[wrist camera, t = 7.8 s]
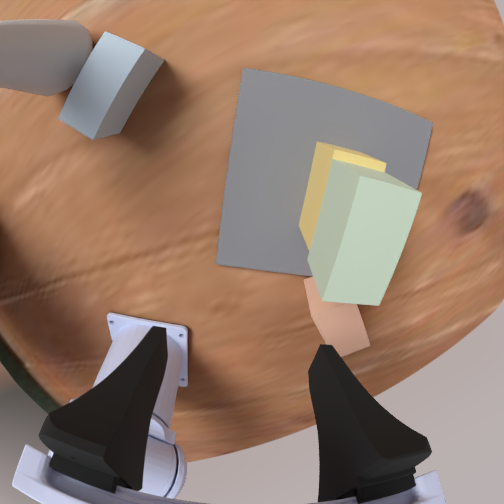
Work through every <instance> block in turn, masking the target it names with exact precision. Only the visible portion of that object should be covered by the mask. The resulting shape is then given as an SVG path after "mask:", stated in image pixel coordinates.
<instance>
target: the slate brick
mask: <svg viewBox="0 0 504 504" xmlns="http://www.w3.org/2000/svg"><path fill="white" fill-rule="evenodd" d="M164 61H165V60H164V59H162V58H161V57H159V56H157V55H155V54H154V53H152V52H150V51H148V50H146V49H144V48H142V47H140V46H138V45H136V44H134V43H131V42H129V41H127V40H125V39H122V38H120V37H118V36H115V35H113V34H111V33H108V32H106V31H105V32H104V34H103V35H102V37H101V38H100V40H99V41H98V43H97V44H96V46H95V48H94V49H93V51H92V52H91V54H90V56H89V58H88V59H87V61H86V63H85V65H84V66H83V68H82V70H81V72H80V74H79V76H78V77H77V79H76V81H75V83H74V85H73V87H72V89H71V91H70V93H69V95H68V97H67V100H66V102H65V104H64V106H63V108H62V111H61V113H60V115H59V118H58V119H59V120H61V121H63V122H64V123H66V124H68V125H69V126H71V127H73V128H74V129H76V130H77V131H79V132H81V133H82V134H84V135H86V136H87V137H89V138H90V139H92V140H95V139H99V138H103V137H107V136H111V135H115V134H120V132H121V130H122V129H123V127H124V125H125V123H126V121H127V119H128V118H129V116H130V114H131V112H132V111H133V109H134V107H135V105H136V104H137V102H138V100H139V99H140V97H141V95H142V94H143V92H144V91H145V89H146V87H147V86H148V84H149V83H150V81H151V80H152V78H153V77H154V75H155V74H156V72H157V71H158V69H159V68H160V66H161V65H162V63H163V62H164Z"/></svg>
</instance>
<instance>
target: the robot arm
mask: <svg viewBox="0 0 504 504" xmlns="http://www.w3.org/2000/svg"><path fill="white" fill-rule="evenodd" d="M107 321H108V325H109V330H110V334H111V338H112V344H111V347H110V349H109V351H108V353H107V355H106V357H105V360H104V362H103V364H102V366H101V369H100V371H99V373H98V375H97V378H96V380H95V382H94V385H93V387H92V389H91V390H89V391H88V392H86V393H85V394H83V395H82V396H79V397H78V398H73V399H71V400H70V402H69V403H68V404H66V405H64V406H62V407H60V408H58V409H56V410H54V411H52V412H50V413H49V414H48V416H47V418H46V419H45V421H44V423H43V426H42V428H41V431H40V433H39V438H40V440H41V441H42V442H43V443H44V444H45V445H46V446H47V447H48V448H49V449H50V450H49V453H48V455H47V454H45V453H43V452H41V451H39V450H37V449H35V448H33V447H31V446H30V445H25V448H24V450H23V453H22V456H21V458H20V461H19V464H18V467H17V470H16V473H15V476H14V479H13V482H12V486H13V487H15V488H17V489H18V490H20V491H21V492H23V493H25V494H26V495H28V496H30V497H31V498H33V499H35V500H37V501H38V502H40V503H42V504H206V503H197V502H190V501H183V500H177V499H175V498H176V497H177V496H178V494H179V493H180V491H181V490H182V487H183V486H184V483H185V479H186V474H187V462H186V458H185V454H184V452H183V450H182V448H181V447H180V446H179V445H178V444H176V443H175V437H176V432H174V431H172V430H170V429H169V428H170V426H171V421H172V415H173V410H174V405H175V400H176V395H177V390H178V386H181V387H186V386H187V385H188V329H187V328H186V327H185V326H182V325H175V324H169V323H163V322H158V321H152V320H146V319H141V318H136V317H131V316H126V315H121V314H116V313H108V315H107ZM112 321H113V322H112ZM181 334H183V335H181ZM308 374H309V389H310V394H311V399H312V404H313V409H314V414H315V419H316V424H317V430H318V439H319V457H320V459H319V460H320V475H319V477H320V478H319V495H318V503H310V504H446V501H445V498H444V494H443V491H442V487H441V484H440V481H439V477H438V475H437V471H436V470H434V471H432V472H429V473H426V474H423V475H421V476H418V477H416V478H414V476H413V474H414V473H416V470H415V466H416V465H418V464H419V463H421V462H422V461H424V460H425V459H426V458H428V457H429V456H430V454H431V452H432V451H431V448H430V445H429V442H428V440H427V438H426V437H425V436H423V435H421V434H420V433H418V432H416V431H414V430H412V429H411V428H409V427H408V426H406V425H405V424H403V423H402V422H400V421H399V420H398V419H396V418H395V417H394V416H393V415H391V414H390V413H389V412H388V411H387V410H385V409H384V408H383V407H382V406H381V405H380V404H379V403H378V402H377V401H376V400H375V399H374V398H373V397H372V396H371V395H370V394H369V393H368V392H367V390H366V389H365V388H364V387H363V386H362V385H361V383H360V382H359V381H358V380H357V378H356V377H355V376H354V375H353V373H352V372H351V371H350V369H349V368H348V366H347V365H346V364H345V362H344V361H343V359H342V358H341V357H340V355H339V354H338V352H337V351H336V350H335V348H334V347H333V345H322V344H320V347H319V349H318V351H317V353H316V355H315V358H314V360H313V362H312V364H311V366H310V368H309V371H308Z"/></svg>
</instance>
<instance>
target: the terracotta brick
mask: <svg viewBox="0 0 504 504" xmlns="http://www.w3.org/2000/svg"><path fill="white" fill-rule="evenodd" d="M304 284H305V289H306V294H307V298H308V303H309V308H310V313H311V317H312V319H313V321H314V323H315V324H316V326H317V328H318V330H319V332H320V334H321V335H322V337H323V339H324V341H325V343H326V345H333V347H334V348H335V350H336V351H337V352H338V354H339V355H340V357H342V356H345V355H348V354H351V353H353V352H356V351H358V350H361V349H364V348H366V347H369V346H371V345H370V342H369V339H368V336H367V333H366V330H365V327H364V323H363V320H362V317H361V314H360V311H359V309H358V306H357V304H350V303H338V302H327V301H322V300H321V297H320V294H319V291H318V289H317V286H316V283H315V280H314V277H313V276H312V277H310V278H307V279H305V280H304Z"/></svg>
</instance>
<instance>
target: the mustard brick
mask: <svg viewBox="0 0 504 504" xmlns="http://www.w3.org/2000/svg"><path fill="white" fill-rule="evenodd" d="M332 159H335V160H340V161H344V162H348V163H352V164H356V165H360V166H364V167H367V168H371V169H375V170H378V171H382V172H385V168H386V164H387V163H385V162H382V161H380V160H378V159H376V158H373V157H371V156H369V155H366V154H364V153H361V152H358V151H354V150H350V149H347V148H343V147H339V146H335V145H330V144H326V143H322V142H317V143H316V148H315V153H314V158H313V162H312V167H311V172H310V176H309V181H308V186H307V190H306V195H305V199H304V204H303V208H302V212H301V217H300V221H299V227H300V230H301V232H302V235H303V237H304V240H305V242H306V245H307V247H308V250H309V251H310V247H311V244H312V240H313V236H314V232H315V229H316V225H317V221H318V217H319V213H320V209H321V205H322V201H323V197H324V193H325V188H326V184H327V180H328V175H329V171H330V167H331V162H332Z"/></svg>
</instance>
